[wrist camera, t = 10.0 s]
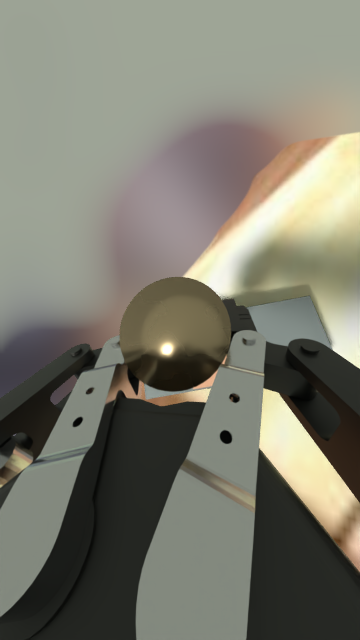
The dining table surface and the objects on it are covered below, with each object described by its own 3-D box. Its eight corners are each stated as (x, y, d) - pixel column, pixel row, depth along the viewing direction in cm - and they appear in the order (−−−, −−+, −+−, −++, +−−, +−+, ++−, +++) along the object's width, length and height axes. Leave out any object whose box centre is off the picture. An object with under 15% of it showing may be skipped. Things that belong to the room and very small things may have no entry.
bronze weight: (216, 317, 15) (215, 264, 6) (229, 366, 14) (246, 381, 5) (171, 328, 16) (116, 292, 7) (179, 374, 14) (124, 399, 6)
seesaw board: (304, 298, 25) (310, 295, 24) (331, 364, 22) (340, 364, 21) (140, 329, 25) (137, 327, 24) (148, 397, 23) (145, 399, 21)
